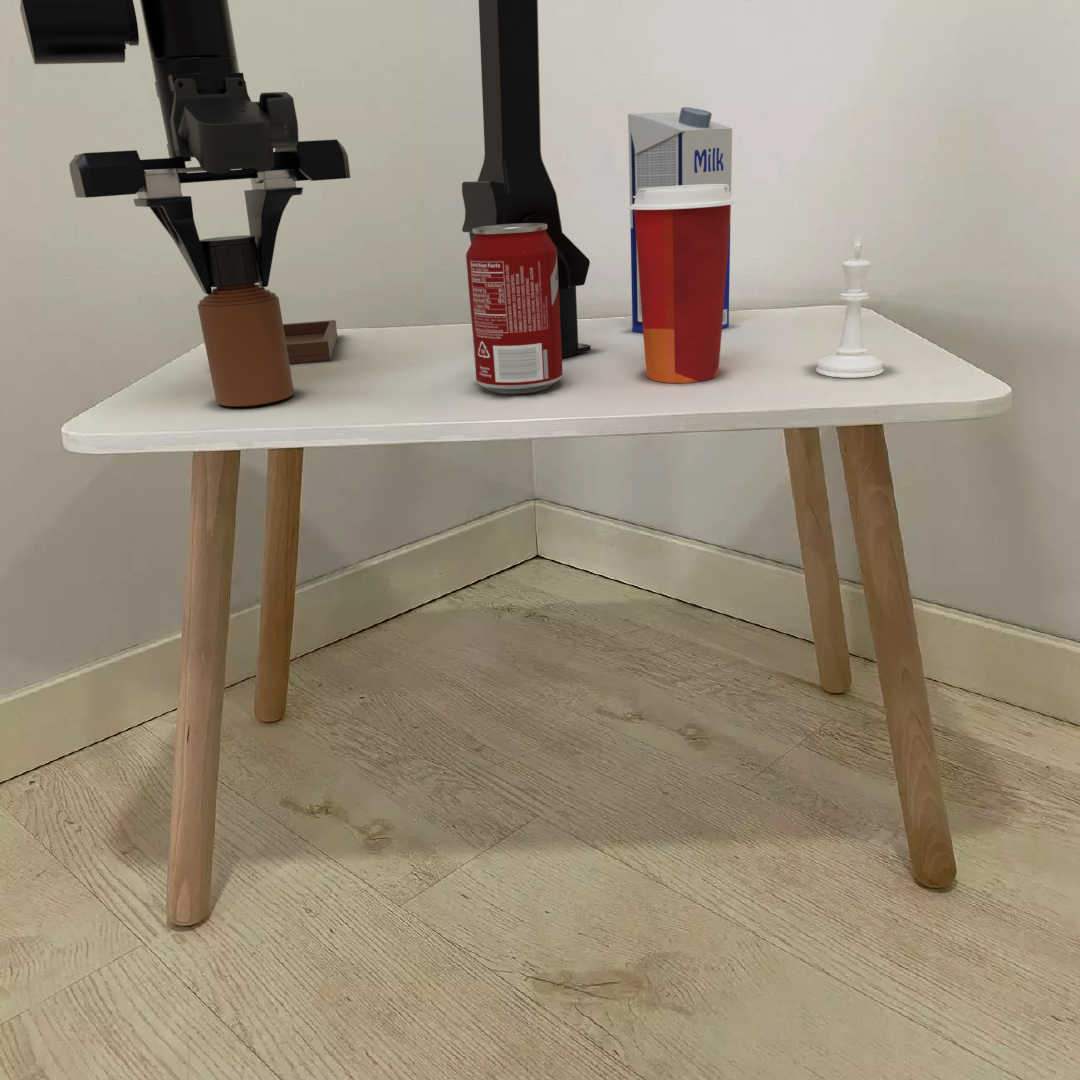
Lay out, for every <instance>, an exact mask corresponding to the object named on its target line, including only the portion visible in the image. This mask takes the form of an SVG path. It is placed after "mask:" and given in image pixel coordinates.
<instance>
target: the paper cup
mask: <svg viewBox="0 0 1080 1080" xmlns="http://www.w3.org/2000/svg"><path fill="white" fill-rule="evenodd" d="M633 198H635V202H634V204H633V205H631V207H630V206H628V209H629V210H630V209H634V211H635V225H636V239H637V253H638V268H639V282H640V296H641V310H642V324H643V333H642V334H643V335H642V336H643V349H644V357H645V358H644V360H645V369H646V375H647V378H648V379H649V380H651V381H655V382H659V383H667V384H668V383H669V384H691V383H697V382H705V381H709V380H712V379H715V378H716V377H718V374H719V366H720V358H721V345H722V335H723V334H722V333H723V328H722V321H723V307H724V294H725V282H726V271H727V259H728V248H729V230H730V231H731V222H730V212H731V213H732V211H731V210H732V205H735V204H736V202H735V199H734V198H732V193H731V194H730V191H729V186H728V184H700V185H680V186H664V187H651V188H642V189H638V192H637V195H636V196H633Z"/></svg>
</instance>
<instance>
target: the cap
mask: <svg viewBox="0 0 1080 1080" xmlns="http://www.w3.org/2000/svg"><path fill="white" fill-rule="evenodd" d="M199 240H200V243H201V247H202V250H203V254H204V257H205V260H206V264H207V267H208V271H209V275H210V282H211V288H216V287H232V286H242V285H249V284H259V282H261V281H262V276H261V270H260V260H259V254H258V248H257V244H256V242H255V236H252V235H250V234H247V235H229V236H219V237H218V236H217V237H209V238H204V239H199Z"/></svg>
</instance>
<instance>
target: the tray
mask: <svg viewBox="0 0 1080 1080" xmlns="http://www.w3.org/2000/svg"><path fill="white" fill-rule="evenodd" d="M283 328H284V334H285V340H286V346H287V352H288V358H289V364H290V365H293V364H303V363H304V364H305V363H316V362H327V361H331V358H332V356H333V353H334V349H335V346H336V343H337V340H338V337H339V335H338V329H337V320H336V319H330V320H318V321H305V322H304V321H303V322H293V323H283Z"/></svg>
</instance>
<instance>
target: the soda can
mask: <svg viewBox="0 0 1080 1080" xmlns="http://www.w3.org/2000/svg"><path fill="white" fill-rule="evenodd" d="M546 229H547V224H545V223H517V224H501V225H490V226H481V227H476V228H473V233H474V239H473V241H472V243H471V242H470V245H469V247H468V249H467V251H466V253H465V254H466V255H465V260H466V270H467V283H468V295H469V297H468V299H469V305H470V306H469V307H470V308H469V309H470V321H471V334H472V346H473V357H474V369H475V380H476V381H475V382H476V383H477V385H479V386H480V387H484V388H486V389H487V390H488V391H489V392H491V393H494V394H499V395H525V394H534V393H539V392H542V391H546V390H548V389H550V388H551V387H552V386H553V384H555V383H557V382H559V381H561V379H562V378H563V372H564V371H563V357H562V350H561V328H560V307H559V285H558V264H557V249H556V247H555V245H554V244H553V242H552V241H551V239H550V238H549V237H548V235H547V233H546Z"/></svg>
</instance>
